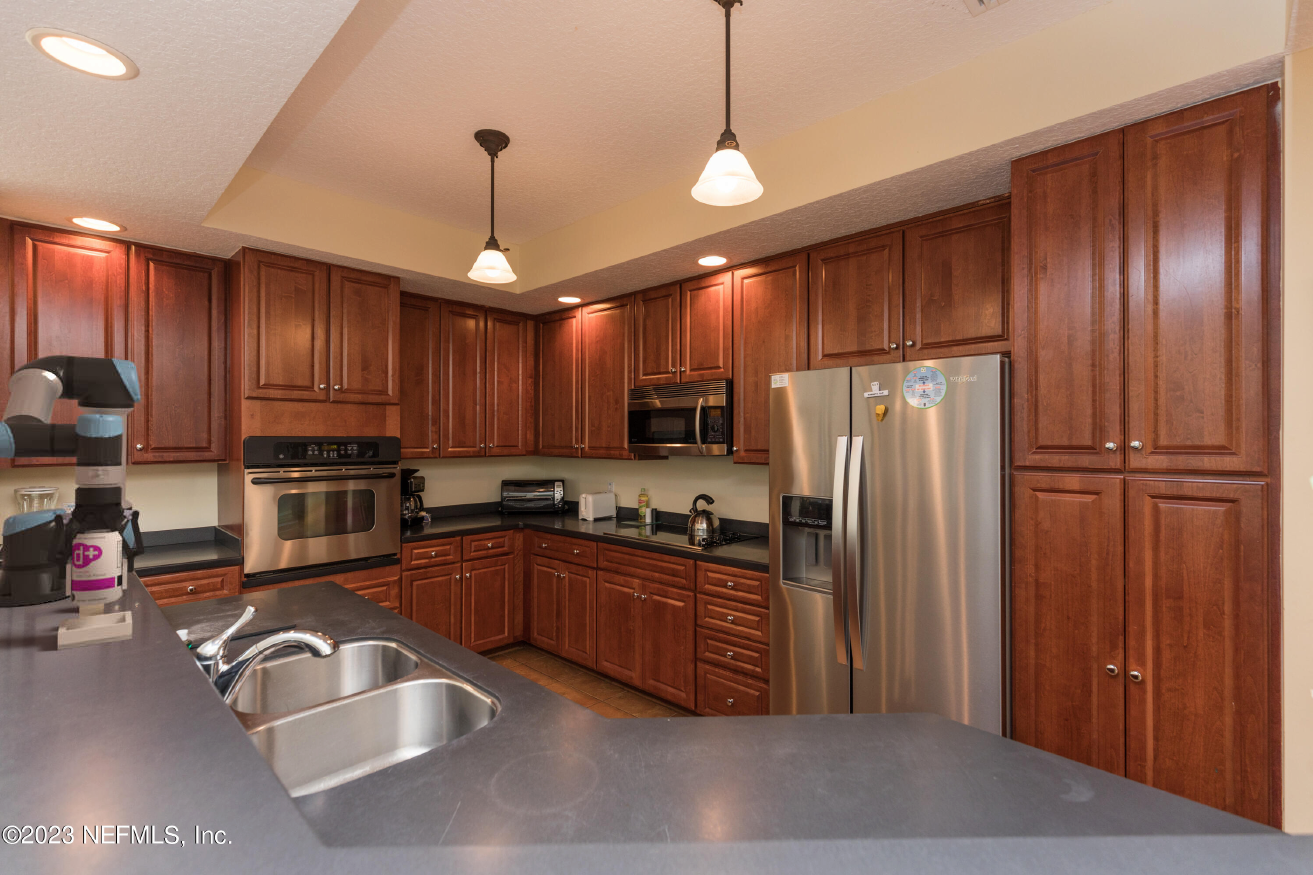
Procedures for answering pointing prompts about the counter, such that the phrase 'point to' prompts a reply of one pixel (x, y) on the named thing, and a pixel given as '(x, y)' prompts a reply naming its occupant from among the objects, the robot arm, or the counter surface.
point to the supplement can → (96, 568)
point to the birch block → (90, 610)
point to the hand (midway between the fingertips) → (97, 590)
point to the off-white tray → (94, 630)
